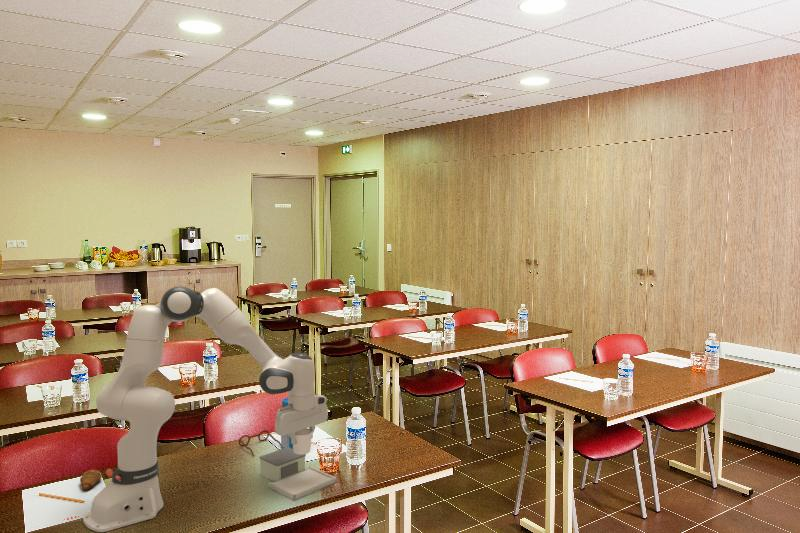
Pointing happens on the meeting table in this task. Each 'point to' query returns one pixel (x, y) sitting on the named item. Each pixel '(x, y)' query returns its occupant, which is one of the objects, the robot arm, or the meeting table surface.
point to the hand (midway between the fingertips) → (302, 441)
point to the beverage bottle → (286, 438)
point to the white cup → (302, 441)
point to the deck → (292, 474)
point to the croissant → (90, 479)
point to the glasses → (258, 438)
